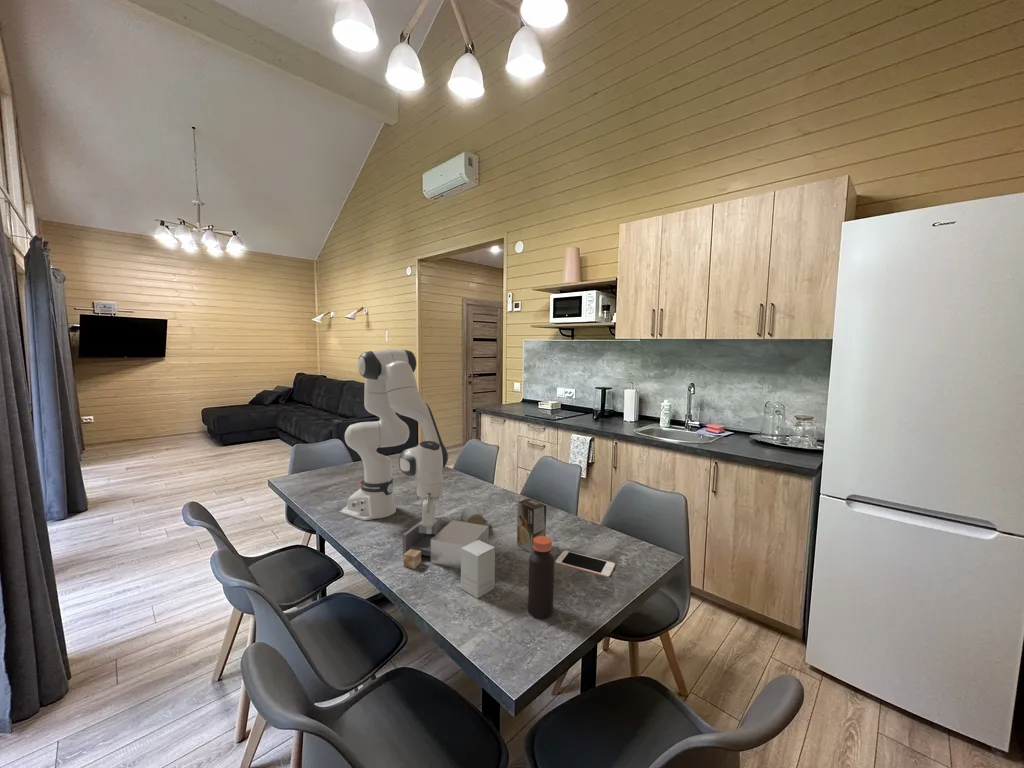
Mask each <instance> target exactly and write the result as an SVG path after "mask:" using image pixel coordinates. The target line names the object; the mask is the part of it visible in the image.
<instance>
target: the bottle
mask: <svg viewBox="0 0 1024 768" xmlns="http://www.w3.org/2000/svg"><path fill="white" fill-rule="evenodd" d="M552 541H553V540H552V539H551V538H550V537H548V536H547V535H546V536H537V537H535V538H534V539H533V550H534V552H533V553H530V555H529V558H528V593H527V610H528V611H527V612H528V613H529V615H530V616H532V617H534V618H536V619H547V618H549V617H550V616H552V614H553V613H554V590H555V589H554V588H555V562H556V559H555V557H554V555H553V554H552V553H551V551H552Z"/></svg>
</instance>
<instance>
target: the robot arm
mask: <svg viewBox="0 0 1024 768" xmlns="http://www.w3.org/2000/svg"><path fill="white" fill-rule="evenodd" d="M357 360H358V361H357V369H358V372H359V374H360V376H362V378H364V389H363V390H364V393H363V394H364V397H363V398H364V400H363V401H364V402H363V403H364V408H365V410H366V411H367V412H368V413H369V414H371V415H374V416H376V417H378V418H379V419H378V420H377V421H363V422H362V421H361V422H356V423H353V424H352V423H351V424H350V425H349V426H348V427H347V428H346V430H345V432H344V441H345V443H346V445H347V447H349V448H350V449H352V450H353V451H355V452H356V453H357V454H358V455H359V457H360V459H361V461H362V464H363V465H362V466H363V473H364V474H363V475H364V478H363V479H362V480H361V481H359V482H358V486H361V487H360V488H359V489H358V490H356V491H355V492H354V493H352V494H351V495H350V496H349V497H348V498H347V505H346V506H345V507H343V508H342V509H341V514H342V515H345V516H348V517H352V518H355V519H358V520H361V521H371V520H375V519H376V520H377V519H383V518H387V517H391V516H393V514H395V513H396V512H397V508H396V504H395V501H394V494H393V492H394V491H393V490H394V478H393V462H392V460H391V459H390V457H388V456H386V455H384V454H381V453H379V452H378V450H377V449H378V448H390V447H396V446H400V445H404V444H405V443H406V442H407V441H408V440H409V438H410V428H409V425H408V424H407V423H406V422H405V421H403V420H402V419H401V418H400V417H399V416H398V415H400V416H404V417H407V418H411V419H413V420H415V421H417V423H418V424H419V425H420V427H421V430H422V432H423V435H424V439H425V440H424V441H421V442H420V443H418V444H417V445H415V446H414V447H410V448H407V449H404V450H402V452H401V453H400V454H399V458H398V467H399V470H400V471H401V472H402V474H404V475H405V476H409V477H414V476H415V477H416V495H417V497H419V498H420V500H421V502H423V503H422V512H421V513H422V514H421V515H422V516H421V517H422V519H421V520H422V525H423V526H426V533H427V534H431V533H432V526H433V525H434V518H436V509H437V505H438V500H439V499H440V497H441V496H442V495H443V494H444V479H443V469H444V468H445V467H446V465H447V463H448V462H449V461H448V460H449V453H448V450H447V448H446V446H445V444H444V443H443V441H442V438H441V436H440V431H439V429H438V427H437V423H436V421H435V417H434V415H433V412H432V409H431V408H430V406H429V404H427V403H426V402H425V401H424V399H423V398H422V397H421V394H420V392H419V389H418V385H417V380H416V377H415V374H414V372H415V370H416V369H417V359H416V356H415V354H414V353H413V351H411V350H407V349H383V350H382V349H381V350H373V351H372V350H369V351H364V352H362V353H361V354H360V356H359V357H358V359H357ZM397 414H398V415H397Z"/></svg>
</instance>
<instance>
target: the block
mask: <svg viewBox="0 0 1024 768" xmlns="http://www.w3.org/2000/svg"><path fill="white" fill-rule="evenodd" d="M421 563H422V555H421V551H419V550H413V549H410V550H408V551H407V552H406V553H405V554H404V557H403V568H409V569H416V568H417V567H419V565H420V564H421Z"/></svg>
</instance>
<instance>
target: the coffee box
mask: <svg viewBox="0 0 1024 768" xmlns="http://www.w3.org/2000/svg"><path fill="white" fill-rule="evenodd" d="M516 513H517V518H516V519H517V520H516V521H517V522H516V523H517V525H516V527H517V528H516V529H517V531H516V545H517V546H518V547H520V548H522V549H524V550H525V551H526V552H528V553H530V554H532V553H533V552H534V550H533V539H534V538H535V537H537V536H546V537H547V535H546V533H547V531H546V530H547V529H546V528H547V504H545V503H542V502H540V501H537V500H535V499H532V498H526V499H522V500H520V501H517V512H516Z"/></svg>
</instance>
